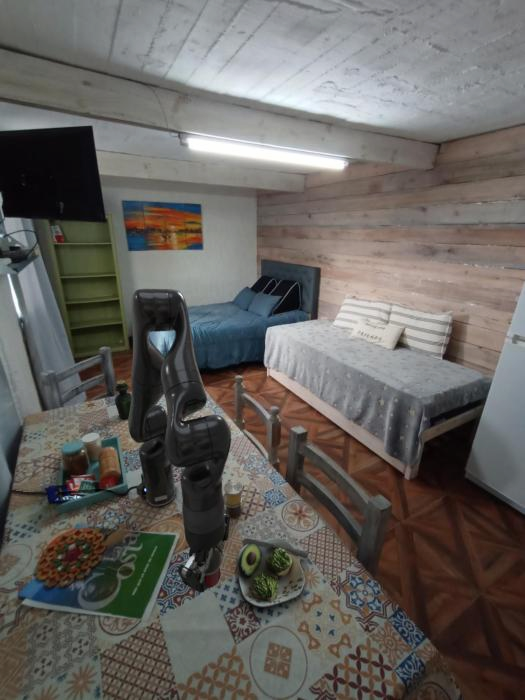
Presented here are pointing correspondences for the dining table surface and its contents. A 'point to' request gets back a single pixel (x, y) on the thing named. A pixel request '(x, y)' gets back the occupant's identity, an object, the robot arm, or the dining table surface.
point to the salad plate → (269, 572)
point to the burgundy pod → (213, 569)
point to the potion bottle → (123, 399)
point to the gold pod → (233, 492)
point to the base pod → (233, 508)
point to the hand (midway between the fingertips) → (208, 574)
